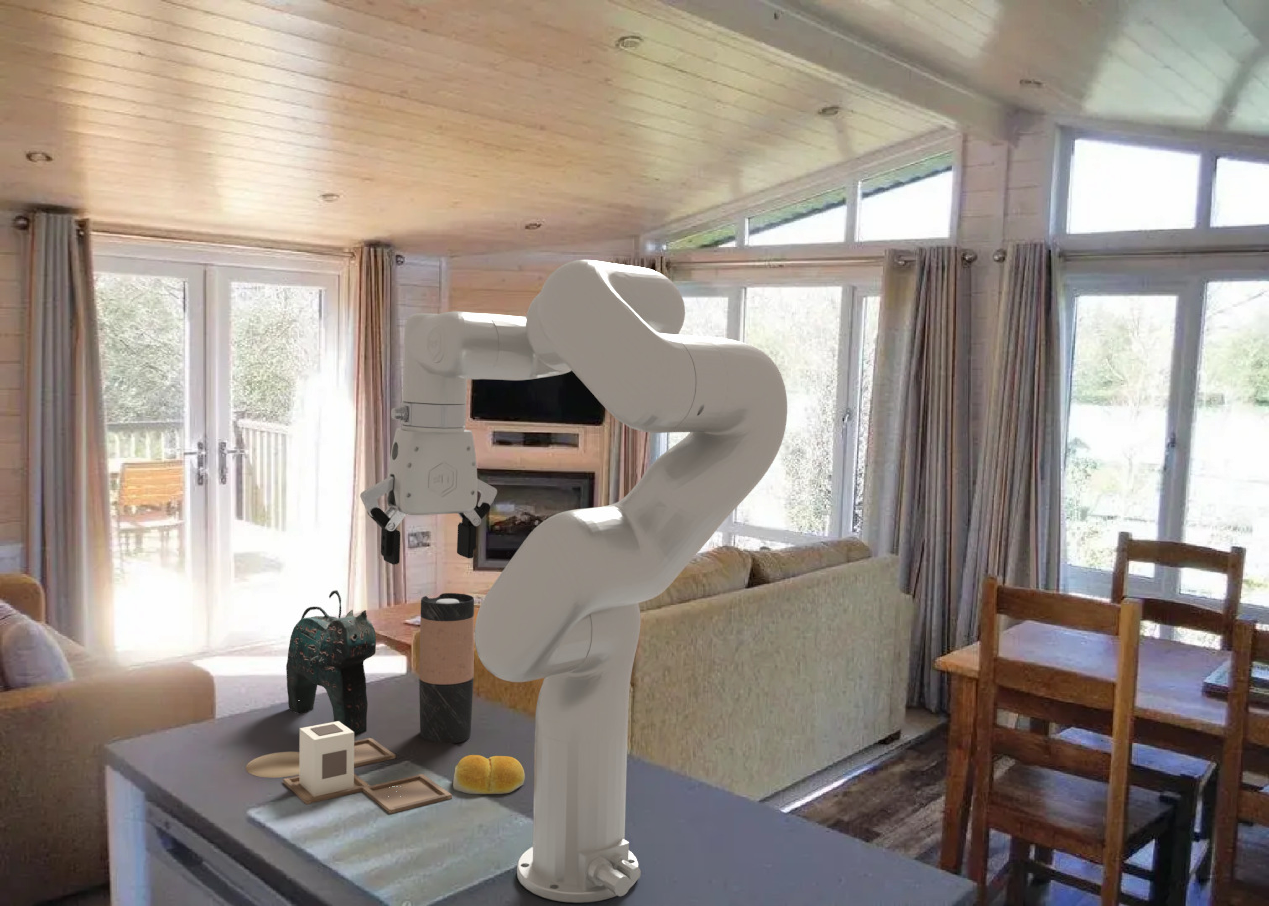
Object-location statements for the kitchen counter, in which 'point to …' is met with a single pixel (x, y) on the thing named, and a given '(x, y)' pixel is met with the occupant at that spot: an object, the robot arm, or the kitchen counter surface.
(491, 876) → the kitchen counter surface
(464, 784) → the bread roll
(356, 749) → the tray
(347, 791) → the tray
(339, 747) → the white box with panels
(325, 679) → the ceramic cat
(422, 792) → the tray
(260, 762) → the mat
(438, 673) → the travel mug
